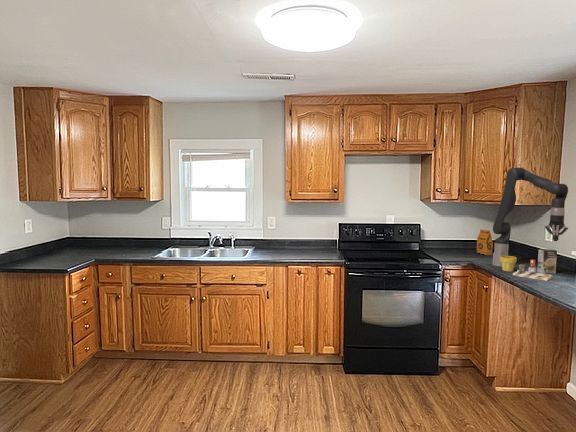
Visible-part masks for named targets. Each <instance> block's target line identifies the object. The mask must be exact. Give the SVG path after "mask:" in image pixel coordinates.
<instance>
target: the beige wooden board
mask: <svg viewBox="0 0 576 432" xmlns="http://www.w3.org/2000/svg"><path fill="white" fill-rule="evenodd" d="M528 273H530V272H528V270H527V265H526V264H521V263H520V264H519V266H518V269H517V271H515V272H512V276H515V277H519V278H520V277H521V278H527V279H534V280H539V281H540V280H541V281H546V282H547V281H550V280H552V279H553V278H554V276H553V275H552V274H551V273H540V272H537V271H536V272H532V274H528Z"/></svg>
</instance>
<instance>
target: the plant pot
mask: <svg viewBox="0 0 576 432" xmlns="http://www.w3.org/2000/svg"><path fill="white" fill-rule="evenodd" d="M517 259H518V258H517V257H516V256H511V255H508V256H500V261H501V264H502V267H501V270H502V271H504V272H513V271H514V269H515V265H516V263H517V262H518V261H517Z"/></svg>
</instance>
